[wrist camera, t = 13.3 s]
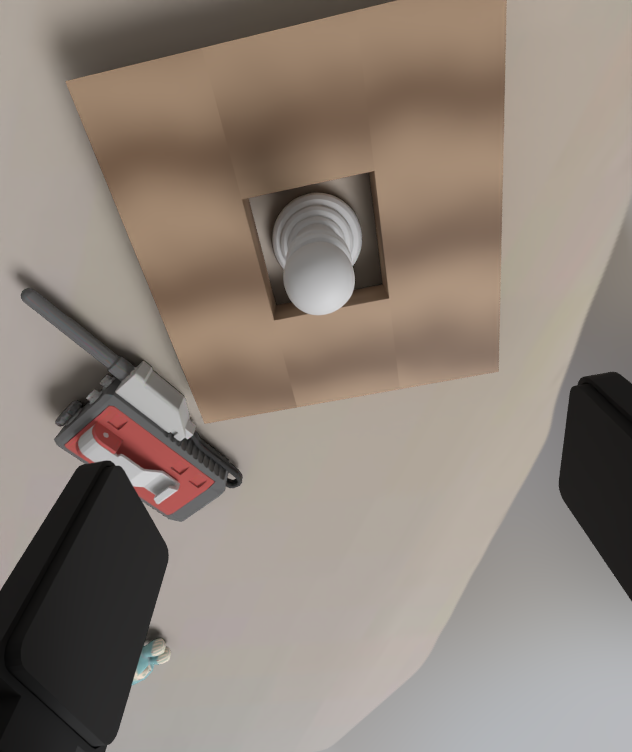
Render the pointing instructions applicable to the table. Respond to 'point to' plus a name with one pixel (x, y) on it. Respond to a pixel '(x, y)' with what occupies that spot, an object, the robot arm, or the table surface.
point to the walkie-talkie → (139, 429)
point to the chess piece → (317, 251)
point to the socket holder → (310, 166)
